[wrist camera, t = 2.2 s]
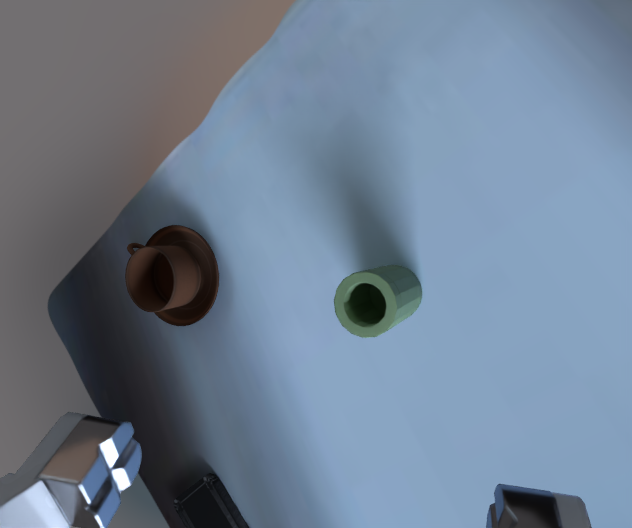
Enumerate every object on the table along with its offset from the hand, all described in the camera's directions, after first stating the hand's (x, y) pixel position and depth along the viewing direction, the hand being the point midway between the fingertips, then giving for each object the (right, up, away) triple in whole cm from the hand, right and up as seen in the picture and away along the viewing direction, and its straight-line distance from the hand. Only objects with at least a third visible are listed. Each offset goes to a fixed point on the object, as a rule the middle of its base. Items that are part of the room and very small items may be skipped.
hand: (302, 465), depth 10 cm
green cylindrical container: (+8, +2, +35) cm, 36 cm away
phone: (-10, -29, +47) cm, 56 cm away
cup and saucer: (-15, +3, +47) cm, 49 cm away
